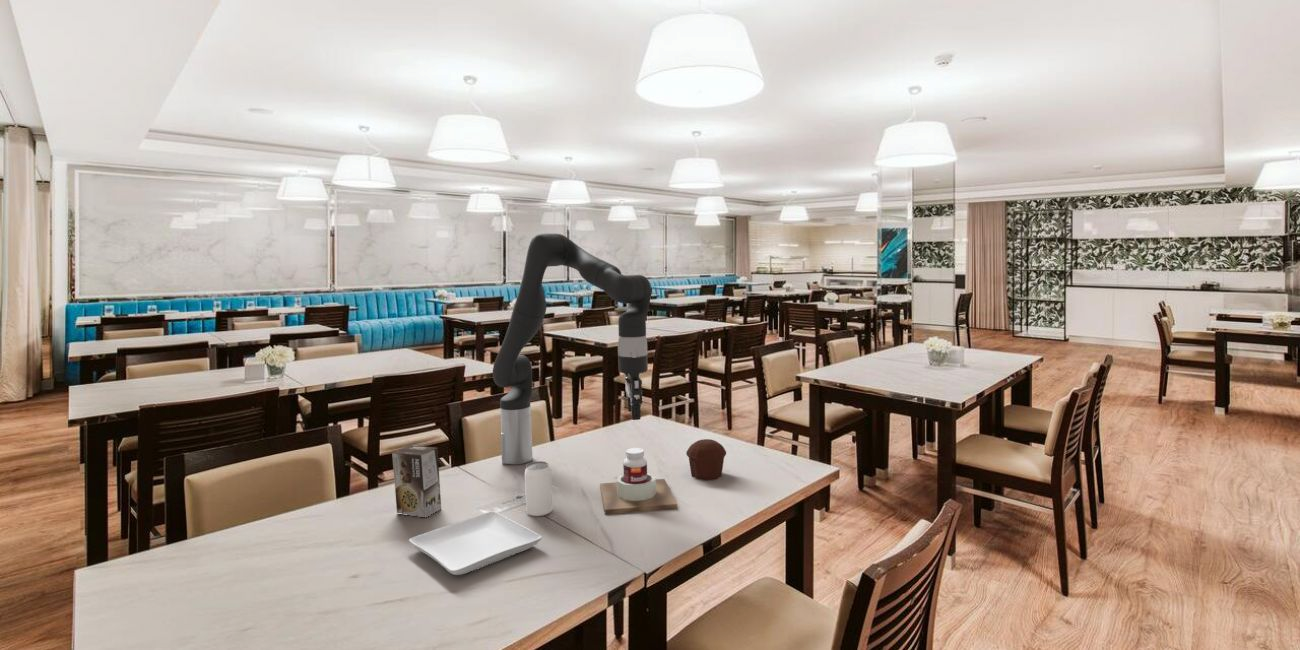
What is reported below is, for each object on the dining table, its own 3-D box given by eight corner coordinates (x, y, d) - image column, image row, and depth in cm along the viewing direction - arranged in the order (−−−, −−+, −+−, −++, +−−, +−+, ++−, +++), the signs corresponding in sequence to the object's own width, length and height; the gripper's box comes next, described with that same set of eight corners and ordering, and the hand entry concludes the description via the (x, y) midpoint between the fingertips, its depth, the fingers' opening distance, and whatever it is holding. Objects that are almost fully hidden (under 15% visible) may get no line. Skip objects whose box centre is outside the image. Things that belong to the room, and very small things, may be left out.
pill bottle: (631, 498, 154) (630, 455, 152) (619, 490, 159) (618, 449, 158) (652, 492, 157) (651, 451, 156) (639, 485, 162) (638, 445, 161)
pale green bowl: (619, 502, 152) (619, 486, 152) (615, 487, 162) (615, 473, 162) (658, 499, 154) (658, 483, 153) (652, 484, 164) (652, 470, 163)
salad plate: (493, 522, 146) (493, 508, 145) (545, 550, 131) (544, 535, 130) (407, 553, 131) (406, 537, 131) (453, 588, 116) (452, 571, 116)
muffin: (701, 484, 166) (701, 449, 165) (678, 473, 176) (678, 440, 175) (734, 476, 173) (734, 441, 172) (710, 465, 182) (710, 433, 181)
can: (527, 507, 153) (525, 461, 152) (553, 505, 154) (551, 460, 153) (524, 517, 147) (522, 470, 146) (551, 516, 147) (549, 468, 146)
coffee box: (442, 508, 153) (439, 447, 152) (425, 519, 147) (421, 455, 146) (413, 504, 156) (409, 444, 155) (395, 514, 150) (391, 451, 149)
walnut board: (605, 514, 148) (604, 509, 148) (600, 487, 166) (599, 483, 165) (677, 508, 151) (677, 503, 150) (664, 482, 168) (664, 478, 168)
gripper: (615, 350, 161) (617, 409, 163) (621, 358, 147) (622, 423, 148) (643, 348, 162) (644, 408, 164) (651, 357, 148) (652, 421, 150)
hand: (634, 415), depth 156 cm, fingers open, 8 cm apart
